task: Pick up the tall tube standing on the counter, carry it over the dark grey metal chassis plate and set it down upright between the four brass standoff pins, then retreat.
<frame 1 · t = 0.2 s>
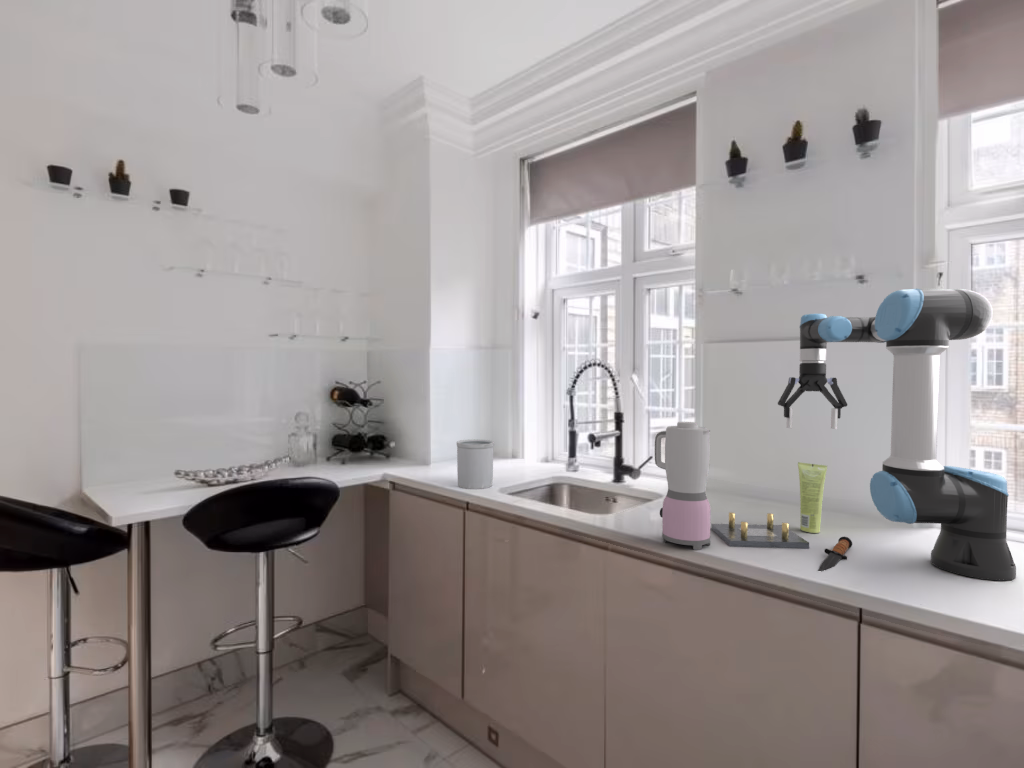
hand: (811, 428, 175), 28 cm above the worktop, fingers open, 13 cm apart
utensil holder: (475, 486, 215), on the worktop
knife: (833, 561, 132), on the worktop
chassis: (757, 537, 148), on the worktop
tube: (810, 532, 155), on the worktop
blender: (680, 542, 145), on the worktop
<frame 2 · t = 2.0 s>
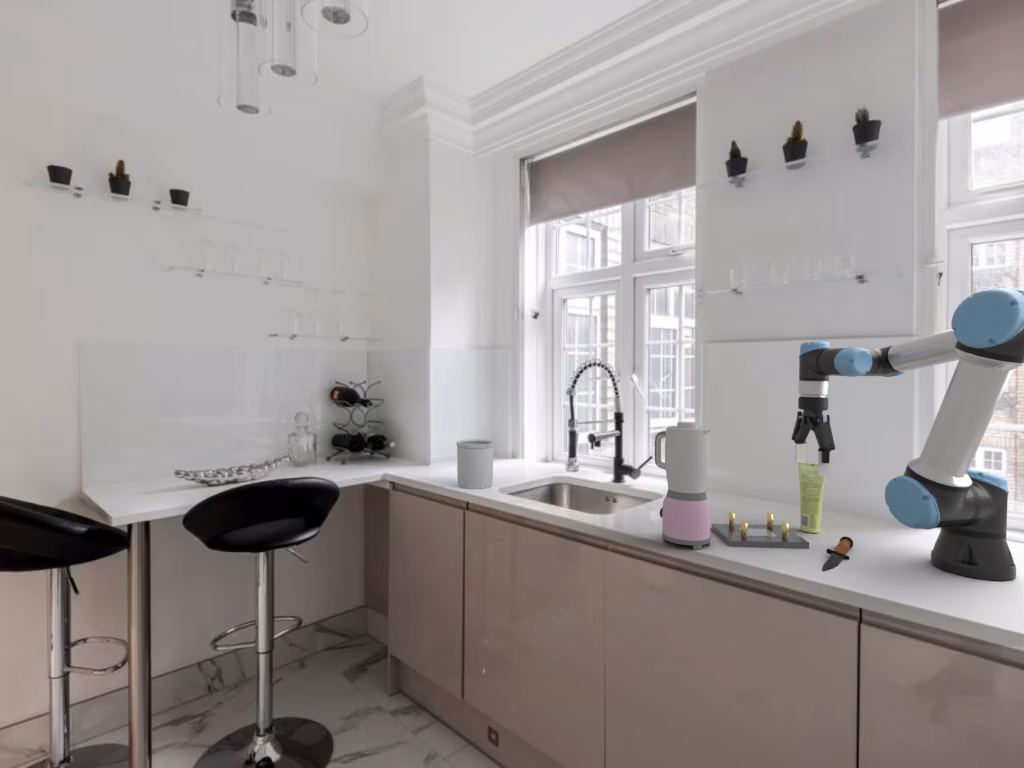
hand: (811, 470, 155), 18 cm above the worktop, fingers open, 13 cm apart
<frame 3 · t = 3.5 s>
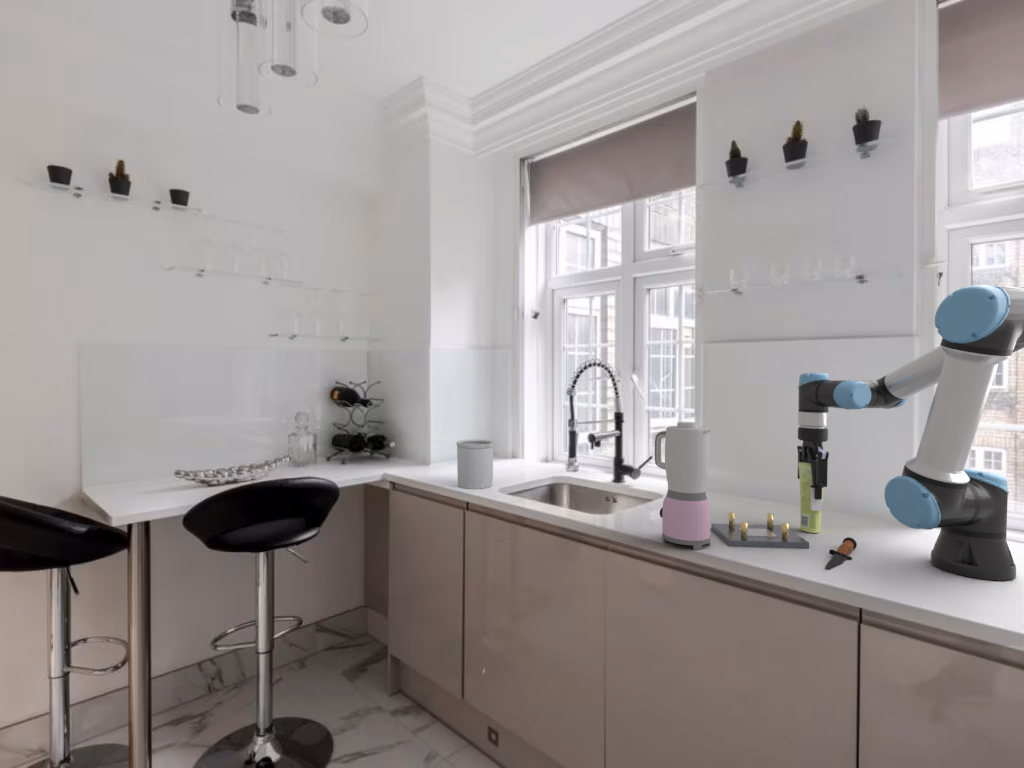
hand: (811, 507, 155), 7 cm above the worktop, fingers closed on tube, 5 cm apart
tube: (810, 531, 155), on the worktop, touching gripper
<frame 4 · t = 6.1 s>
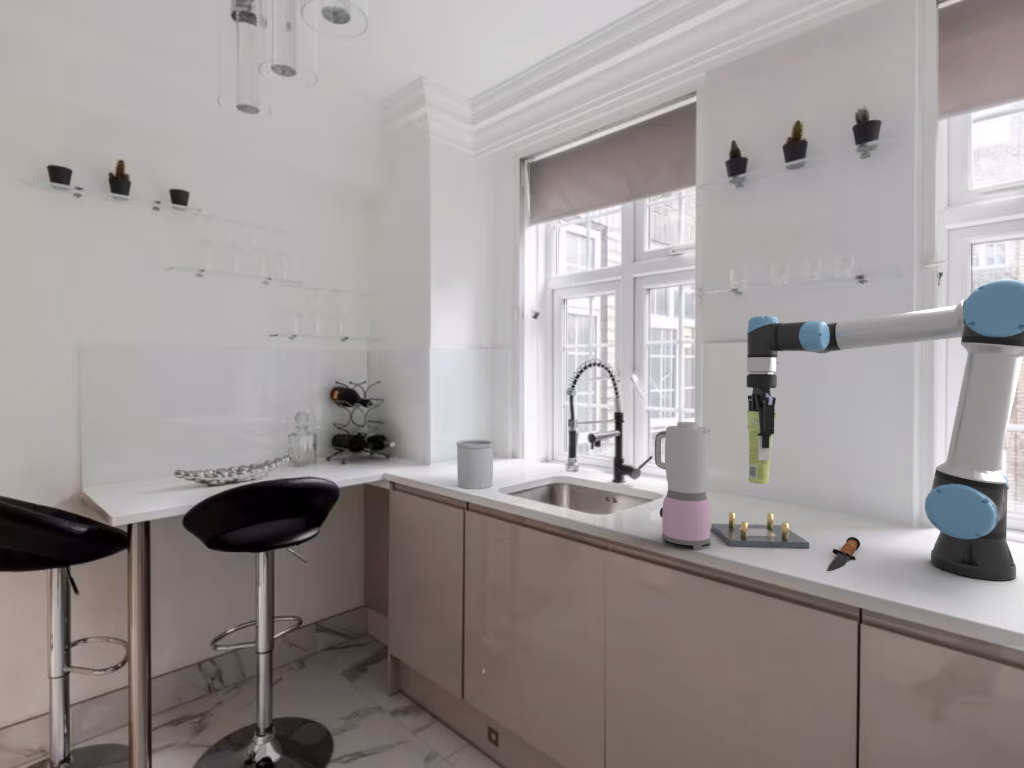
hand: (759, 458, 148), 22 cm above the worktop, fingers closed on tube, 5 cm apart
tube: (759, 483, 149), point 15 cm above the worktop, touching gripper
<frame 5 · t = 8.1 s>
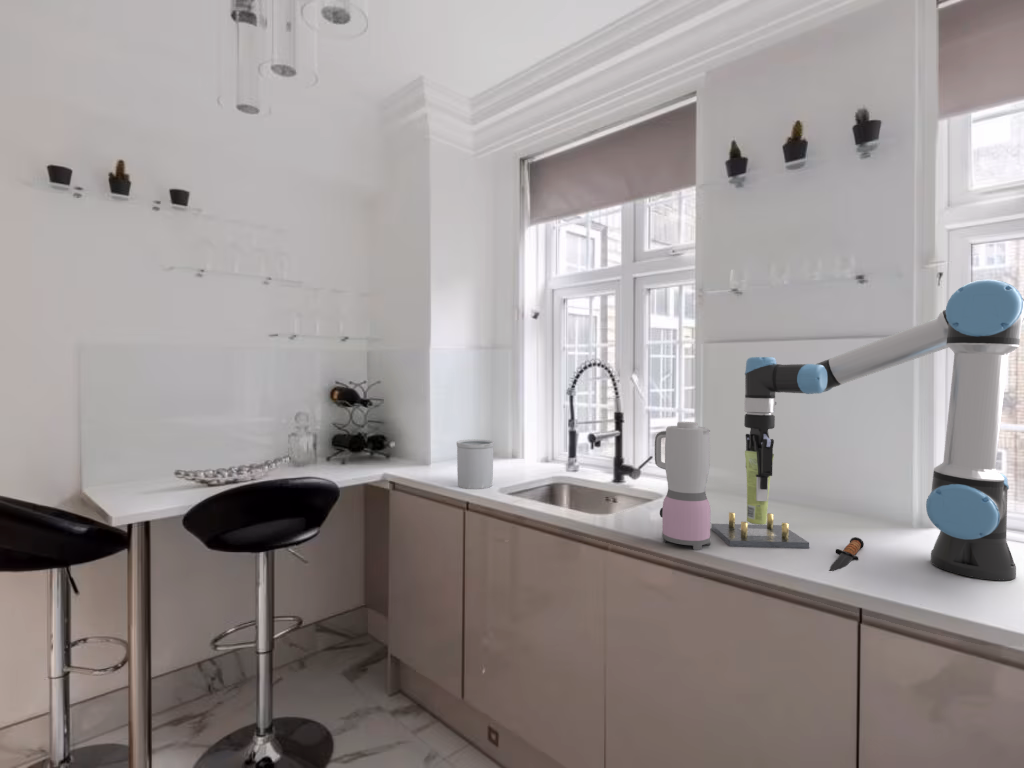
hand: (757, 498, 148), 11 cm above the worktop, fingers closed on tube, 5 cm apart
tube: (757, 523, 148), point 4 cm above the worktop, touching gripper
when the fingers open (9 cm above the worktop, at t = 8.8 s): tube stays where it is, resting on chassis.
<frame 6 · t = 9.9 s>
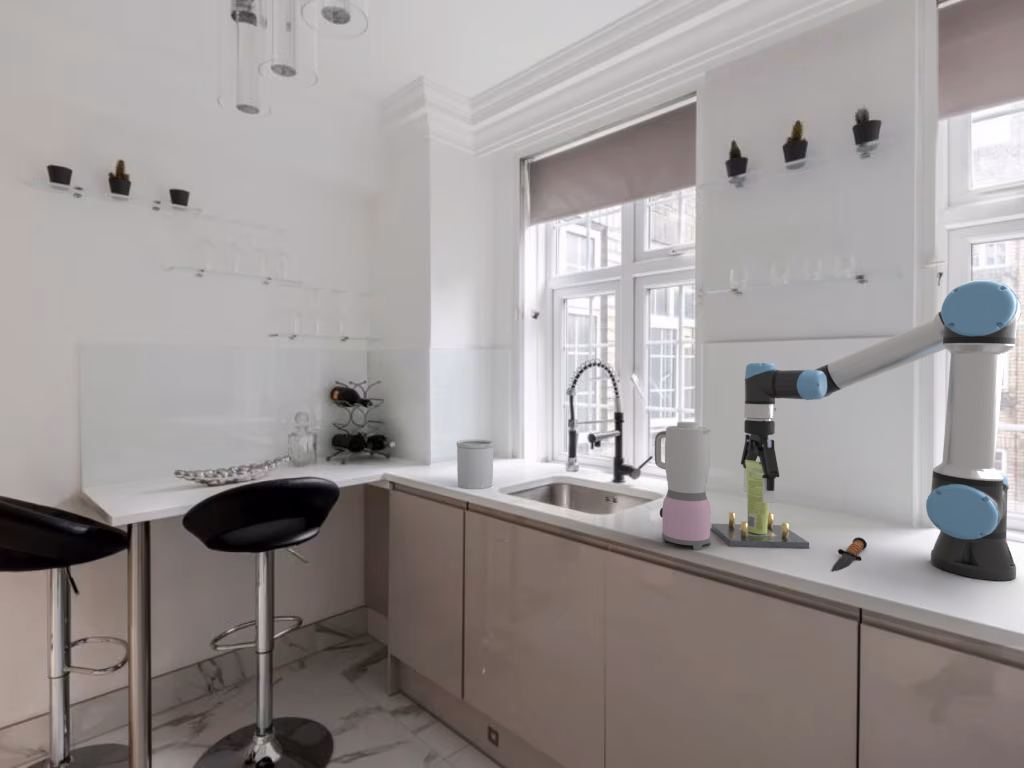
hand: (758, 497, 148), 11 cm above the worktop, fingers open, 13 cm apart
tube: (757, 533, 148), point 1 cm above the worktop, touching chassis
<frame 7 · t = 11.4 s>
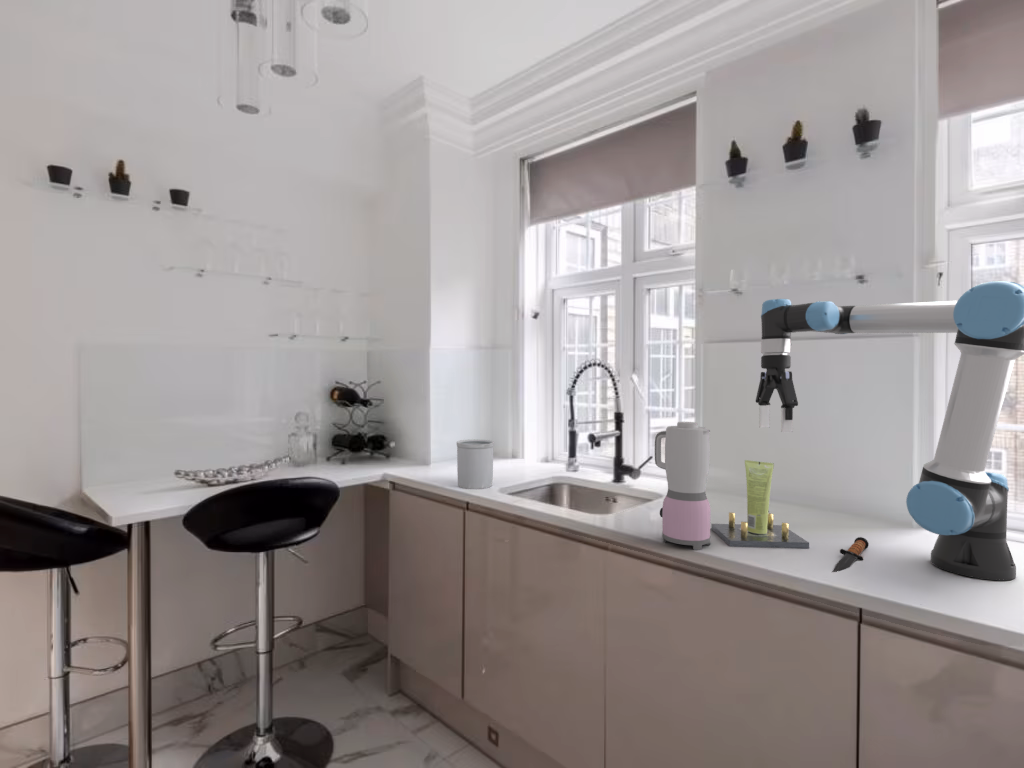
hand: (775, 429, 153), 29 cm above the worktop, fingers open, 13 cm apart
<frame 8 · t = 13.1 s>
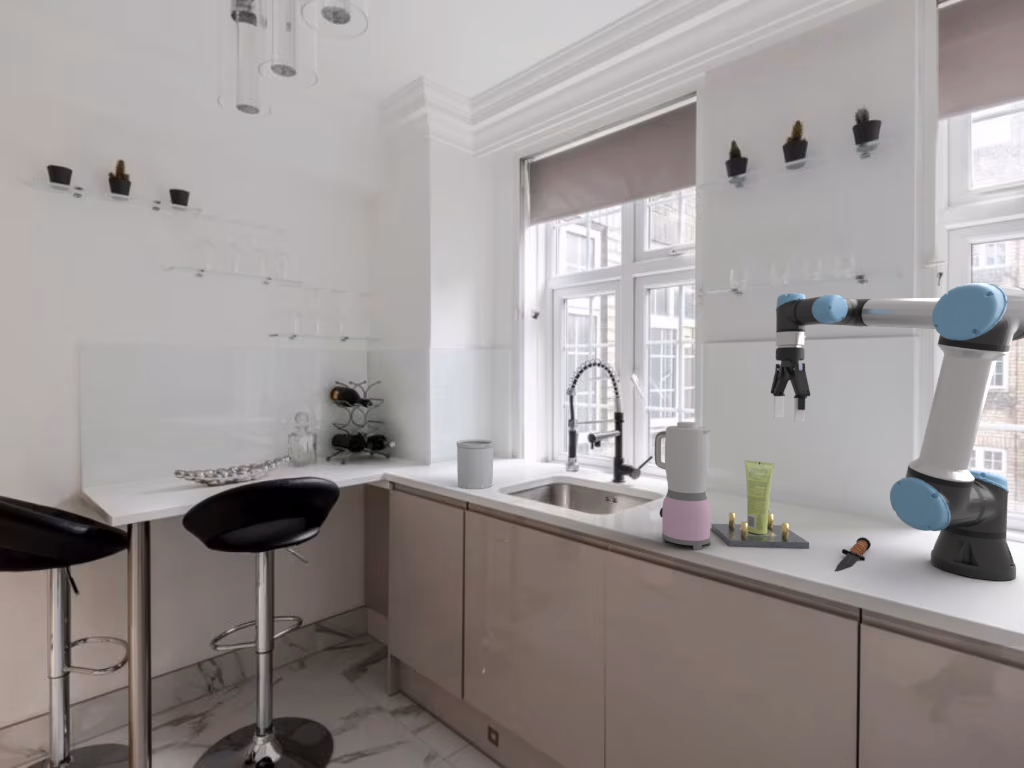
hand: (788, 419, 159), 32 cm above the worktop, fingers open, 13 cm apart
at the end: tube 0.2 cm off-centre on the chassis, point 1.4 cm above the chassis's base; tube tilted 0°; the gripper is holding nothing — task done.
